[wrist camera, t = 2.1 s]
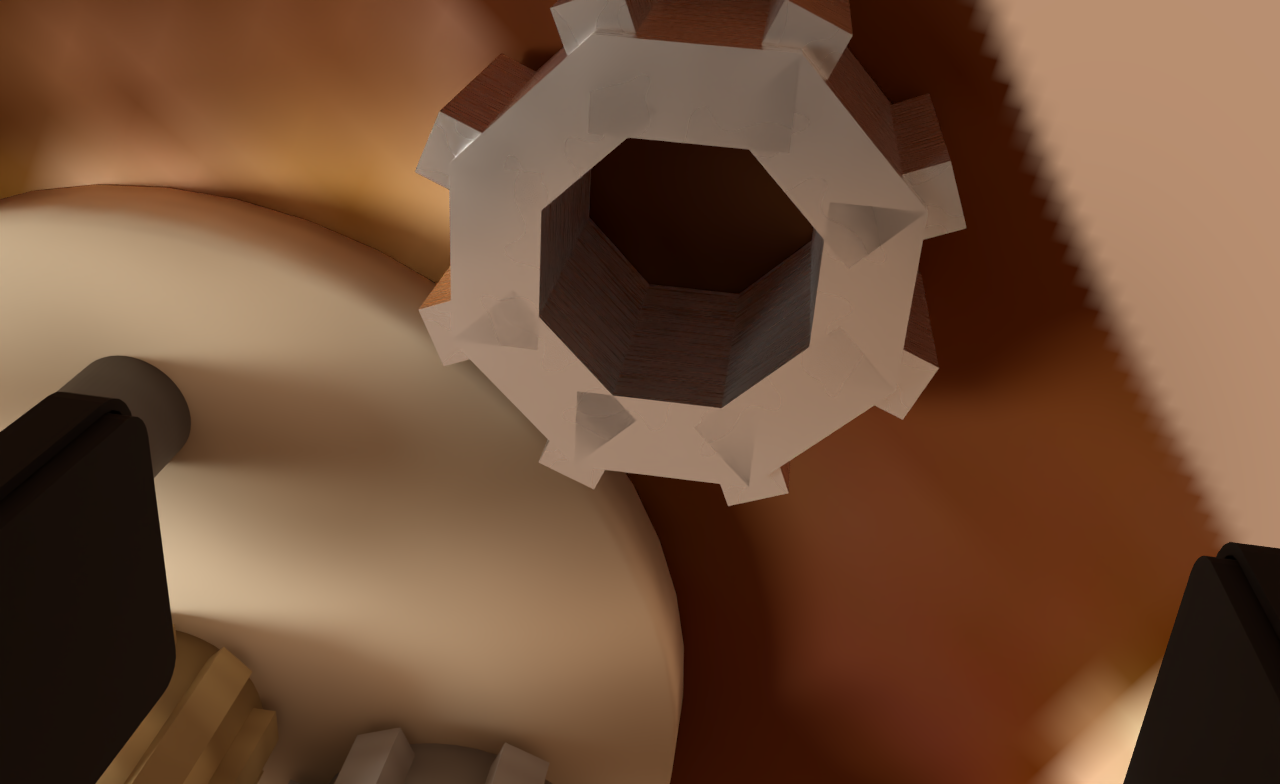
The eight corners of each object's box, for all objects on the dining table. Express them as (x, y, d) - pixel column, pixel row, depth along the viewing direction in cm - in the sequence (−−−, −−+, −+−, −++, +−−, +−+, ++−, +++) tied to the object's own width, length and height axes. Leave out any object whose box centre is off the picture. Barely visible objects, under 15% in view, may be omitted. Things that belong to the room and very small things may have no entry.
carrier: (-352, 132, 21) (-827, 285, 15) (728, 246, 20) (686, 470, 14) (-107, 883, 30) (-344, 1172, 24) (651, 1005, 29) (605, 1348, 22)
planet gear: (484, -73, 18) (401, -30, 14) (973, -32, 17) (1011, 23, 14) (483, 359, 21) (416, 478, 18) (893, 406, 21) (908, 540, 17)
